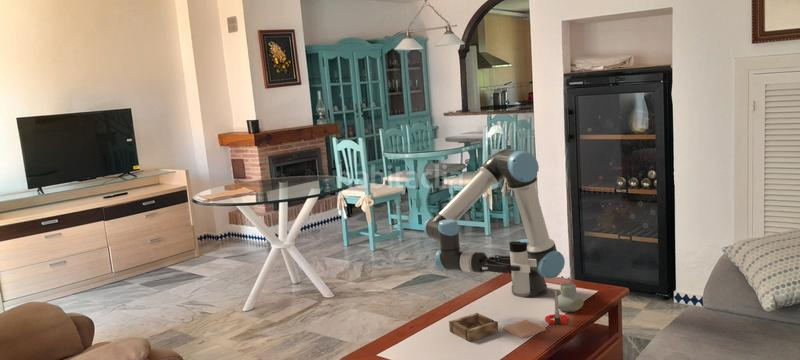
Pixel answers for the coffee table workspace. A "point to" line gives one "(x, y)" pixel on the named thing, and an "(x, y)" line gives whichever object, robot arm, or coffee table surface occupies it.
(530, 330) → the terracotta tile
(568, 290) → the air freshener
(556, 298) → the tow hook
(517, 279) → the travel mug
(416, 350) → the coffee table surface
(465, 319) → the wooden tray
